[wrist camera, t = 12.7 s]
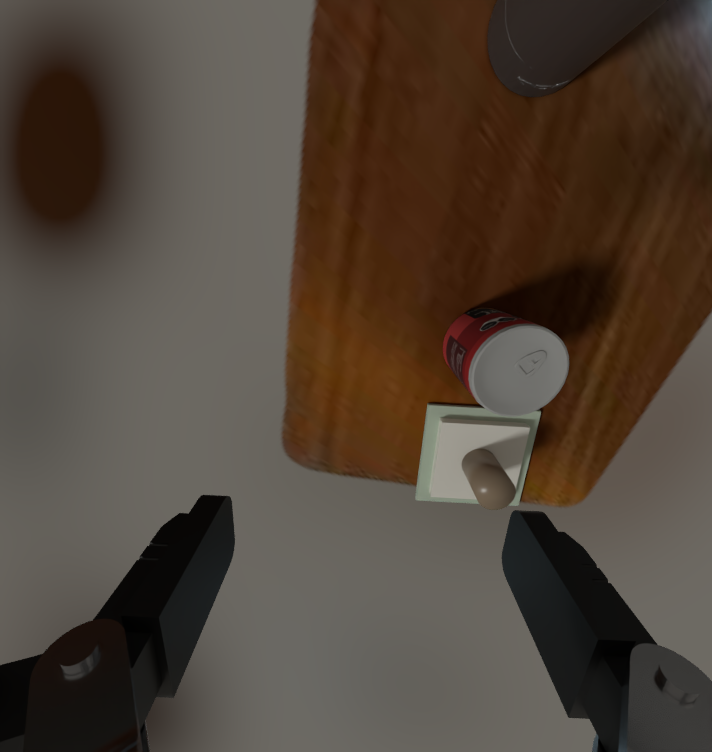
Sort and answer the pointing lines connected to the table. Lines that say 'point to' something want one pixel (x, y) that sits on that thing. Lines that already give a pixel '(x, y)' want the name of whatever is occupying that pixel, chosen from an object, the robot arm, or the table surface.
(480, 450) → the lid
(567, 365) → the canned food
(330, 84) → the table surface
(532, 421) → the mat
